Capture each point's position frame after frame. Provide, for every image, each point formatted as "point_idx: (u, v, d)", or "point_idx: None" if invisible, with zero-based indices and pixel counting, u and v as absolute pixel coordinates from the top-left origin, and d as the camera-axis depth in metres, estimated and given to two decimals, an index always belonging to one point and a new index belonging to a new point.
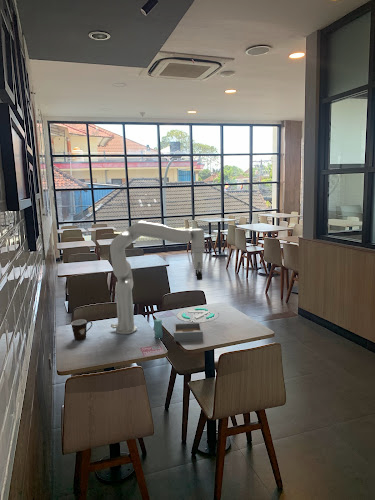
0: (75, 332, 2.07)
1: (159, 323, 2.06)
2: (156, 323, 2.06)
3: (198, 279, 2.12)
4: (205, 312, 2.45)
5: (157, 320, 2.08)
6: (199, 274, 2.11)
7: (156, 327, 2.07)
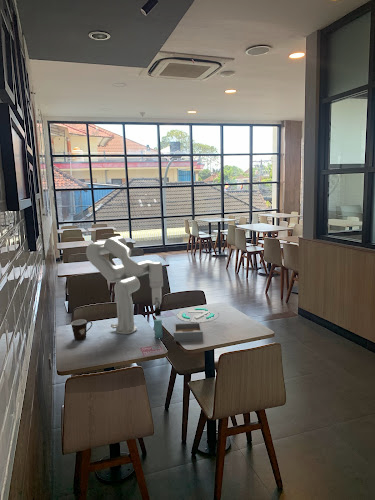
0: (75, 332, 2.07)
1: (159, 323, 2.06)
2: (156, 323, 2.06)
3: (156, 315, 2.02)
4: (205, 312, 2.45)
5: (157, 320, 2.08)
6: (157, 310, 2.01)
7: (156, 327, 2.07)
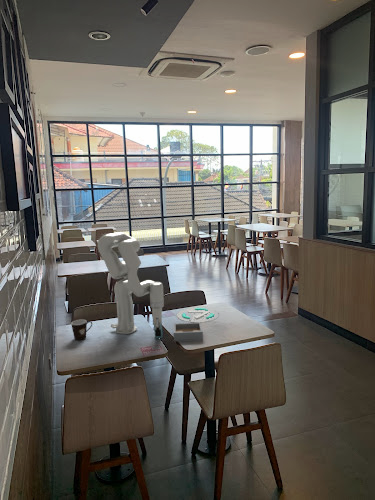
0: (75, 332, 2.07)
1: (159, 323, 2.06)
2: None
3: (157, 335, 2.07)
4: (205, 312, 2.45)
5: None
6: (158, 330, 2.05)
7: None
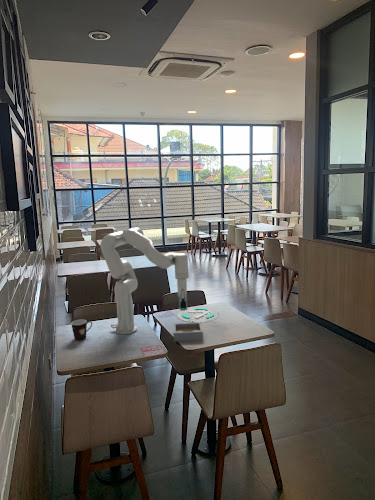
0: (75, 332, 2.07)
1: (184, 295, 2.04)
2: (181, 295, 2.04)
3: (182, 307, 2.04)
4: (205, 312, 2.45)
5: None
6: (183, 302, 2.03)
7: None
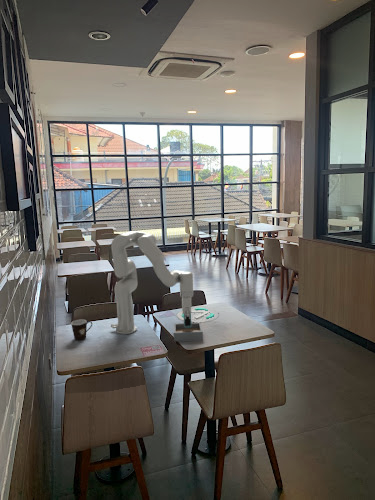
0: (75, 332, 2.07)
1: None
2: None
3: (186, 325, 2.06)
4: (205, 312, 2.45)
5: None
6: (187, 320, 2.05)
7: None
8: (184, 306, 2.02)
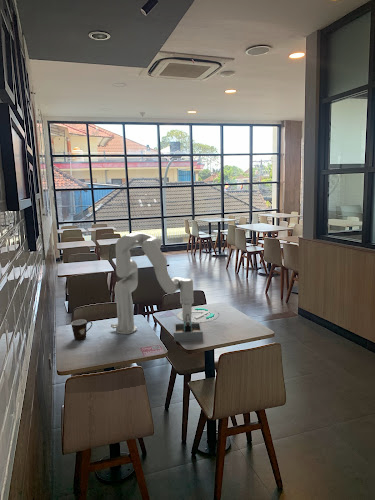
0: (75, 332, 2.07)
1: None
2: (186, 322, 2.07)
3: None
4: (205, 312, 2.45)
5: None
6: (187, 327, 2.04)
7: None
8: (184, 313, 2.03)
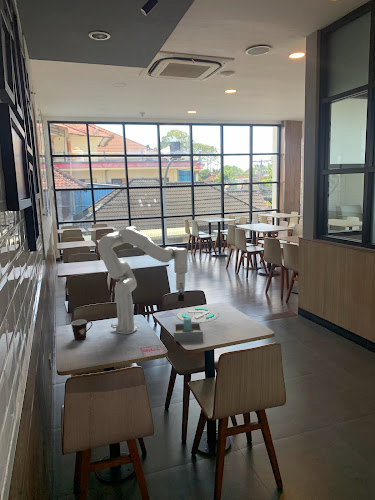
0: (75, 332, 2.07)
1: (189, 322, 2.07)
2: (186, 322, 2.07)
3: (179, 300, 2.05)
4: (205, 312, 2.45)
5: (187, 319, 2.09)
6: (181, 295, 2.03)
7: (186, 326, 2.07)
8: (178, 282, 2.03)
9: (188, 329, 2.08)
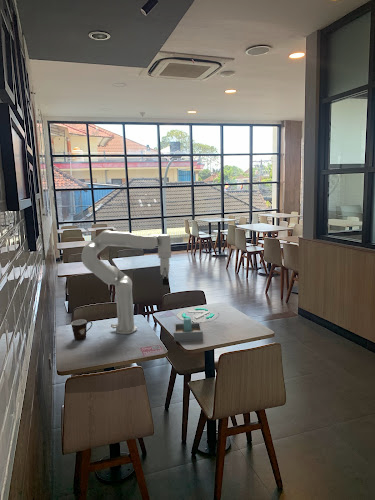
0: (75, 332, 2.07)
1: (189, 322, 2.07)
2: (186, 322, 2.07)
3: (164, 284, 2.14)
4: (205, 312, 2.45)
5: (187, 319, 2.09)
6: (165, 279, 2.12)
7: (186, 326, 2.07)
8: (162, 266, 2.12)
9: (188, 329, 2.08)
